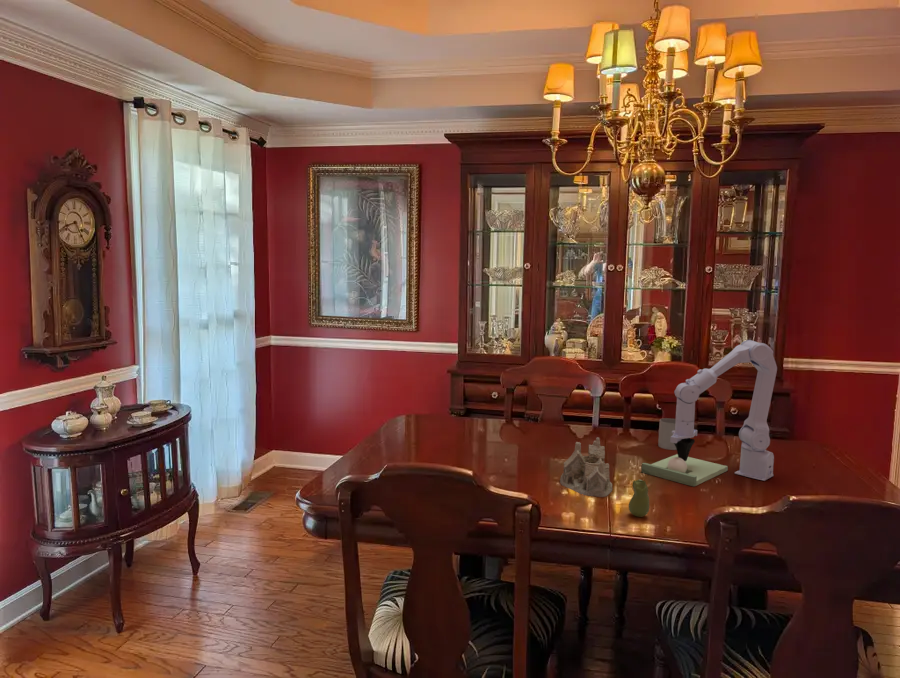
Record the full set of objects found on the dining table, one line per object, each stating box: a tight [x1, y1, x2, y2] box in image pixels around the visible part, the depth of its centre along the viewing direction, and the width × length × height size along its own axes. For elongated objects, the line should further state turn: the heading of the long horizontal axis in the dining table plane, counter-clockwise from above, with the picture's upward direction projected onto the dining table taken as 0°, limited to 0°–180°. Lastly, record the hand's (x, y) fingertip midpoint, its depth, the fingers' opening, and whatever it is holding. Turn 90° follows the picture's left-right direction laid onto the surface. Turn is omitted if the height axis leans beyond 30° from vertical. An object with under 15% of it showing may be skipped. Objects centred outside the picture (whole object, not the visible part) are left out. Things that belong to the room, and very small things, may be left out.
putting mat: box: [640, 453, 729, 488], centre depth 207 cm, size 18×24×3 cm
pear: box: [628, 479, 650, 518], centre depth 169 cm, size 6×5×10 cm
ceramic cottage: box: [559, 437, 613, 498], centre depth 190 cm, size 16×16×15 cm
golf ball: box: [667, 457, 687, 473], centre depth 203 cm, size 6×6×6 cm
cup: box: [657, 417, 677, 451], centre depth 236 cm, size 8×8×10 cm
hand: (682, 460), depth 206 cm, fingers closed
